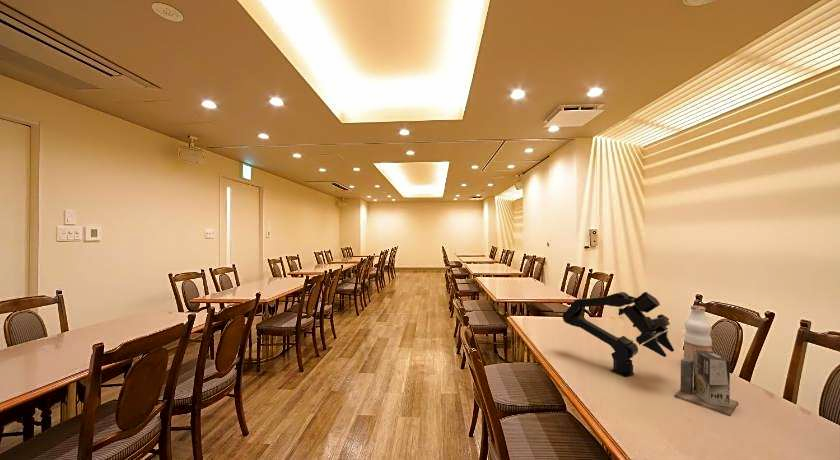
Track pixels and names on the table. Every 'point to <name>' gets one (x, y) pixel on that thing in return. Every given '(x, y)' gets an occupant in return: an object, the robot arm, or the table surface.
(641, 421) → the table surface
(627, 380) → the table surface
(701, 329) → the fruit juice
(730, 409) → the pull board
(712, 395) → the coffee box
